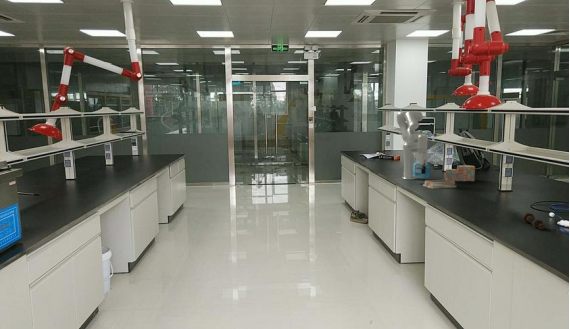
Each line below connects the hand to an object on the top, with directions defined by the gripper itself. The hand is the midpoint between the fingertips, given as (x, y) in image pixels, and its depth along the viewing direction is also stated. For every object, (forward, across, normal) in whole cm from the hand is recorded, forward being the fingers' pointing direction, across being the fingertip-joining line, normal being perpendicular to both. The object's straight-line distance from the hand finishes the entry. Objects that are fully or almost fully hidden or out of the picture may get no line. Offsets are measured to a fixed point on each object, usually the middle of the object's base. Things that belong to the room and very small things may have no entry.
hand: (421, 172), depth 328 cm
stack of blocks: (+9, -2, +36) cm, 37 cm away
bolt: (+4, +124, -7) cm, 124 cm away
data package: (+4, 0, 0) cm, 4 cm away
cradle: (+8, +15, +7) cm, 19 cm away
